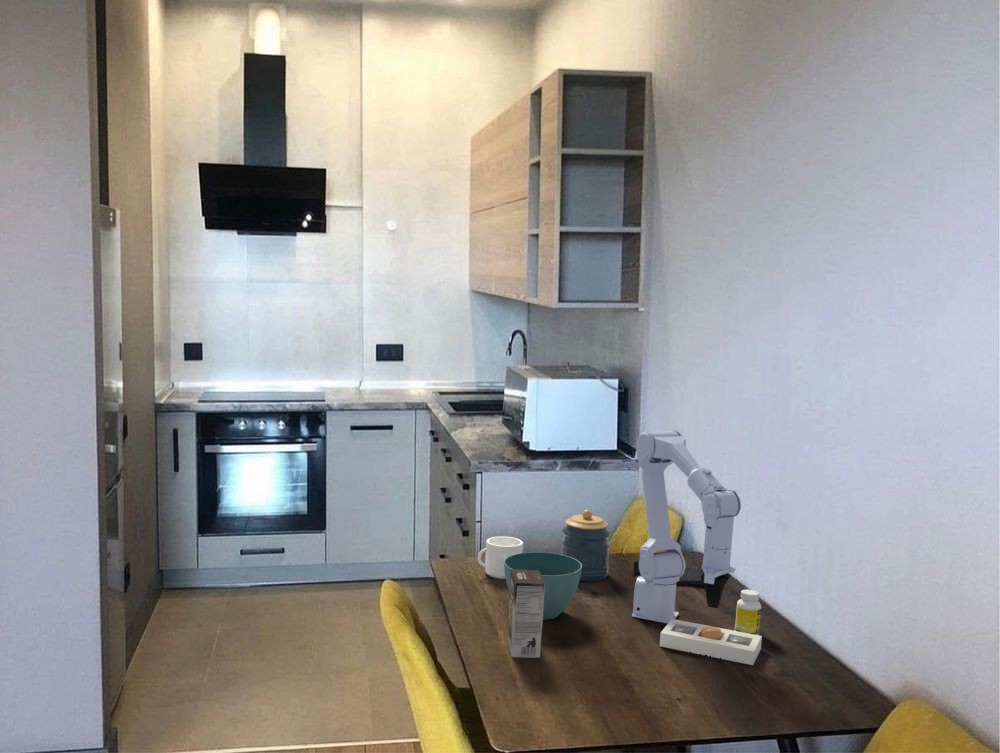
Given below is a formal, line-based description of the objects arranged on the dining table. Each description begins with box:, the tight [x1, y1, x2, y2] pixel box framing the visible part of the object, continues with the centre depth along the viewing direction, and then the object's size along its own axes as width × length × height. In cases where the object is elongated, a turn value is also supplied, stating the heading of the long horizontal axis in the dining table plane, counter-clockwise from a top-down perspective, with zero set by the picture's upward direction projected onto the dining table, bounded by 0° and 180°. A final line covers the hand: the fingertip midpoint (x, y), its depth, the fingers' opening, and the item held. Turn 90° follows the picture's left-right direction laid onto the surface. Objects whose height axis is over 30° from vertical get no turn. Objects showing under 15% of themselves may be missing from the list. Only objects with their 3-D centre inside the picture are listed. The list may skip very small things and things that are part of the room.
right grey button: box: [729, 636, 749, 646], centre depth 207 cm, size 4×4×3 cm
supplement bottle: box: [734, 589, 762, 636], centre depth 219 cm, size 5×5×10 cm
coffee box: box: [507, 569, 545, 659], centre depth 203 cm, size 9×6×16 cm
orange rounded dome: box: [702, 625, 721, 640], centre depth 210 cm, size 4×4×3 cm
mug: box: [477, 536, 524, 580], centre depth 253 cm, size 12×10×9 cm
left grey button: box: [675, 626, 693, 635], centre depth 212 cm, size 4×4×3 cm
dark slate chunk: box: [632, 559, 704, 586], centre depth 259 cm, size 15×22×5 cm
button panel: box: [659, 618, 763, 666], centre depth 210 cm, size 20×10×3 cm, turn 66°
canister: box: [560, 509, 612, 582], centre depth 256 cm, size 13×13×18 cm
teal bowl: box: [504, 551, 582, 621], centre depth 225 cm, size 18×18×12 cm
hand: (713, 606), depth 209 cm, fingers closed
